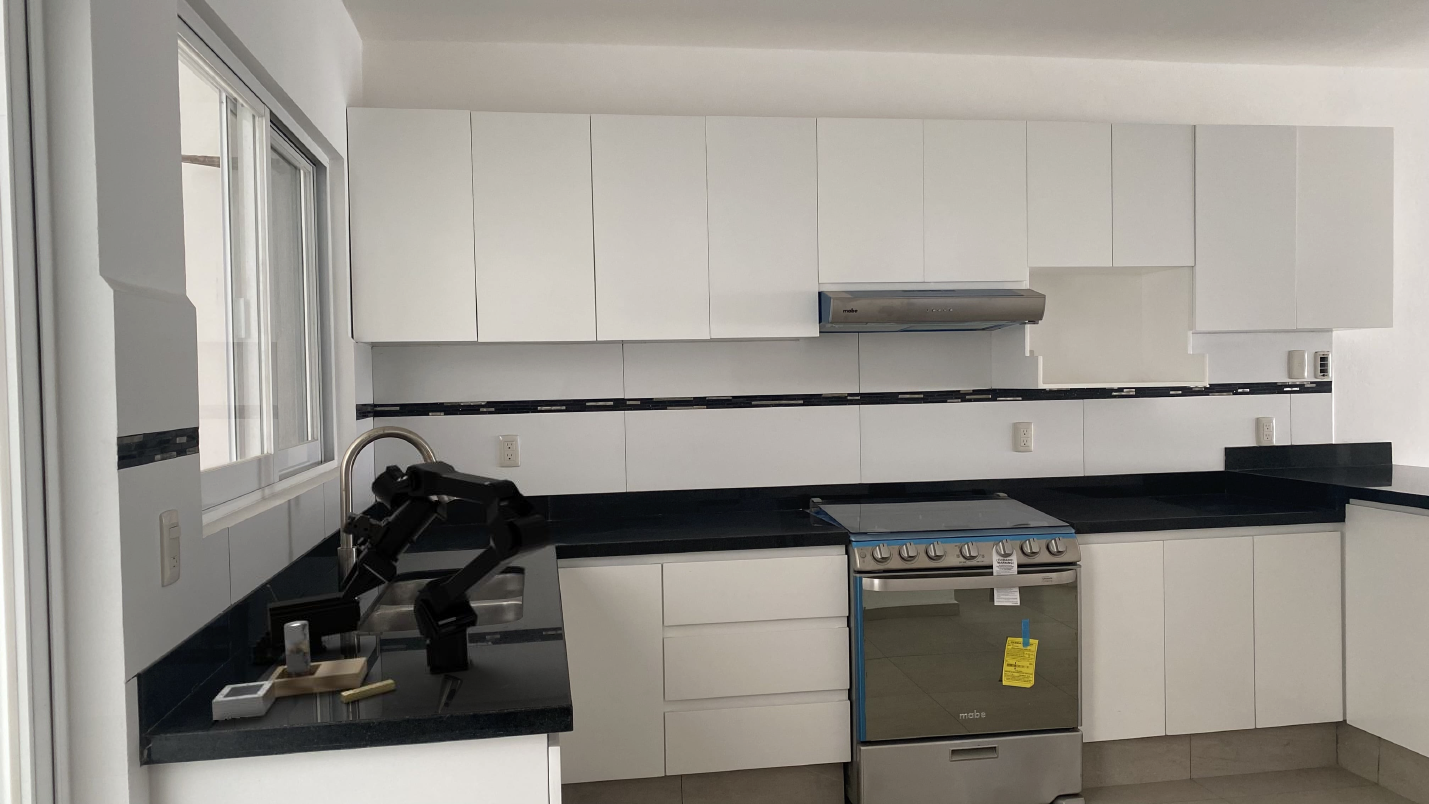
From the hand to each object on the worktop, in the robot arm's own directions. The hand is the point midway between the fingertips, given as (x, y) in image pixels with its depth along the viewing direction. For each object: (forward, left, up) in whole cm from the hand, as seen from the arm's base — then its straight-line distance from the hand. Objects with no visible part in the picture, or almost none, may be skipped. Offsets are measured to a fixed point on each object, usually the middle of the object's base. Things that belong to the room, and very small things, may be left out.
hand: (342, 594), depth 155 cm
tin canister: (+7, +5, -14) cm, 16 cm away
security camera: (+9, -14, -14) cm, 22 cm away
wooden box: (+4, +5, -14) cm, 15 cm away
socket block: (+13, +13, -14) cm, 23 cm away
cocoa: (+13, -21, -14) cm, 28 cm away
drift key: (-5, +13, -14) cm, 19 cm away
